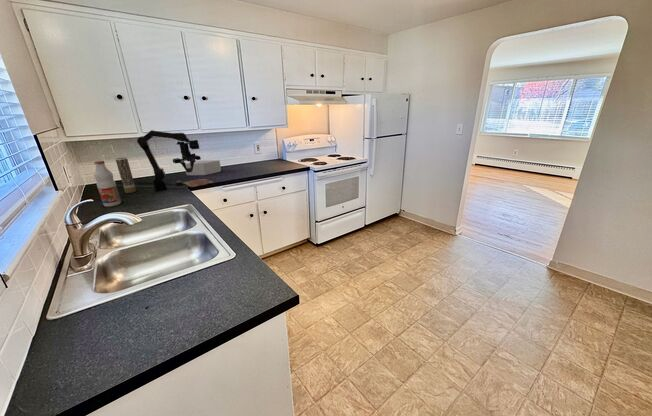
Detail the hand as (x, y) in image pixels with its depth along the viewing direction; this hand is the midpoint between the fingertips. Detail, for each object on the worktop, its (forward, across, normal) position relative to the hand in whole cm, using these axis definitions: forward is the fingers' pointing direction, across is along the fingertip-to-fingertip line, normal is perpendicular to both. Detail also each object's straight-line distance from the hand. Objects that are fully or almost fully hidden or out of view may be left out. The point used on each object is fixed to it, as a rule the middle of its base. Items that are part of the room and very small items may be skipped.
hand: (189, 170), depth 207 cm
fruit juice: (+12, -53, -5) cm, 54 cm away
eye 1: (+12, -7, +9) cm, 17 cm away
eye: (+1, 0, 0) cm, 1 cm away
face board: (+12, +6, +4) cm, 15 cm away
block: (+13, +24, +33) cm, 43 cm away
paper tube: (+12, -38, +17) cm, 43 cm away
